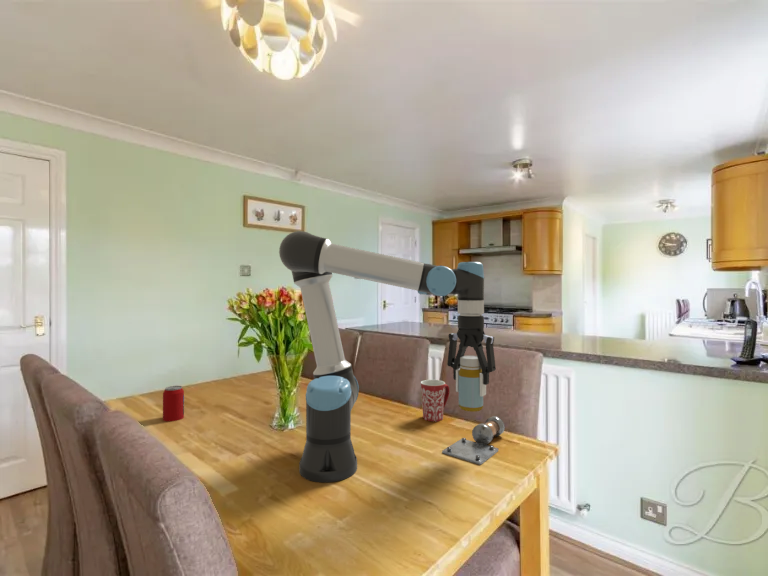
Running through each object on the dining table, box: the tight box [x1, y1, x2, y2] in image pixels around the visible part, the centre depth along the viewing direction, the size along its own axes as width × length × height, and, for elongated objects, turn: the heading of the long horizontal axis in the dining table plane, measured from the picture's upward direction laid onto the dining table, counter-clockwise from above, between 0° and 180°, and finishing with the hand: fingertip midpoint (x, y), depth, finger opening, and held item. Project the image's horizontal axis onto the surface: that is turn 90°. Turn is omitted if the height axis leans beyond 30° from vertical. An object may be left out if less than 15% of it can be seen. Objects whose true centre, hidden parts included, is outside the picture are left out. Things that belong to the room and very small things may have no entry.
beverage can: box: [162, 385, 185, 423], centre depth 143 cm, size 7×7×12 cm
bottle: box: [458, 355, 484, 413], centre depth 116 cm, size 7×7×15 cm
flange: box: [441, 415, 506, 466], centre depth 121 cm, size 24×12×6 cm, turn 141°
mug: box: [420, 379, 450, 422], centre depth 147 cm, size 13×9×14 cm
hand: (470, 393), depth 116 cm, fingers closed on bottle, 7 cm apart
